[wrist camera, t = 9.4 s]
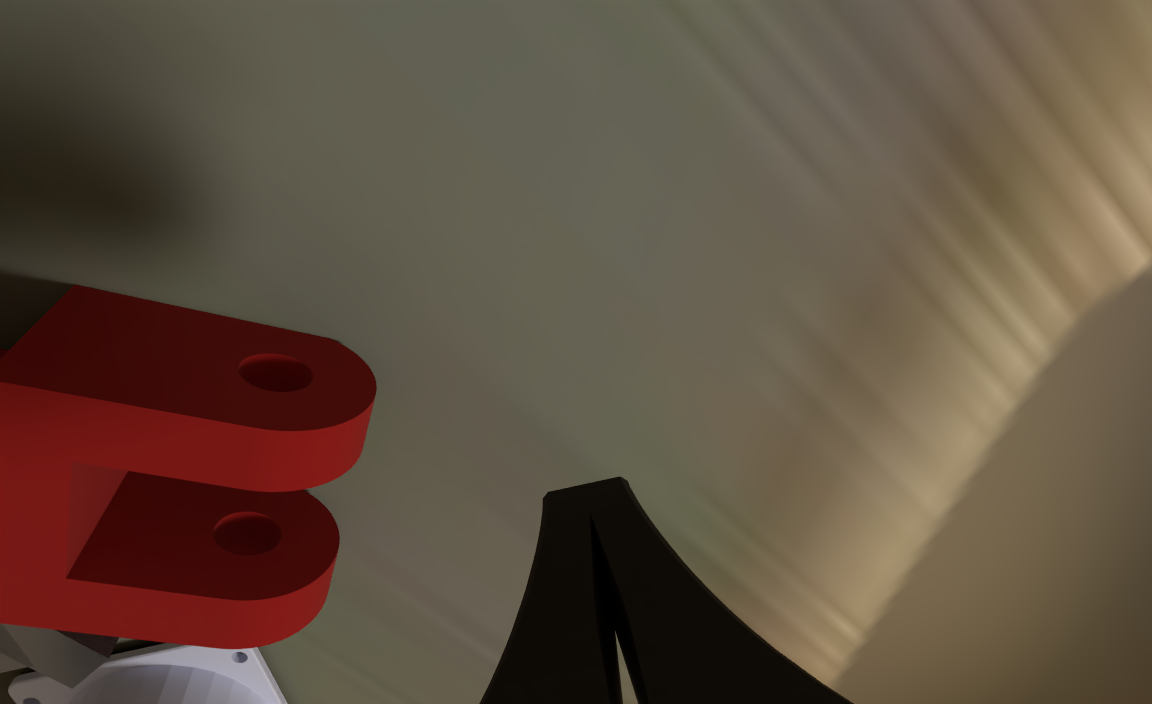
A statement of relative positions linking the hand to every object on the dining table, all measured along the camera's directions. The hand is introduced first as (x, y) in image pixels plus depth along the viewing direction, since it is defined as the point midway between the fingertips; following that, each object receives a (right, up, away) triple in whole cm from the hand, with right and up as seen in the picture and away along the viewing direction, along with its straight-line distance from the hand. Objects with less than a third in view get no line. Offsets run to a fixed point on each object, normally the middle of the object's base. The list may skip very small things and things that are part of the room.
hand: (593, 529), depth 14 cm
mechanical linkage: (-14, +2, +9) cm, 17 cm away
